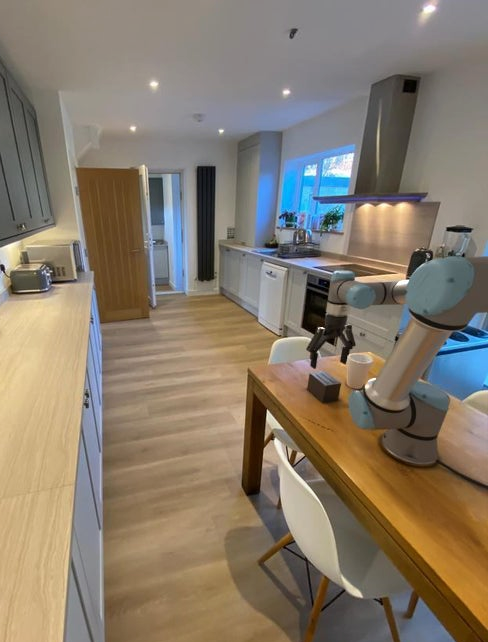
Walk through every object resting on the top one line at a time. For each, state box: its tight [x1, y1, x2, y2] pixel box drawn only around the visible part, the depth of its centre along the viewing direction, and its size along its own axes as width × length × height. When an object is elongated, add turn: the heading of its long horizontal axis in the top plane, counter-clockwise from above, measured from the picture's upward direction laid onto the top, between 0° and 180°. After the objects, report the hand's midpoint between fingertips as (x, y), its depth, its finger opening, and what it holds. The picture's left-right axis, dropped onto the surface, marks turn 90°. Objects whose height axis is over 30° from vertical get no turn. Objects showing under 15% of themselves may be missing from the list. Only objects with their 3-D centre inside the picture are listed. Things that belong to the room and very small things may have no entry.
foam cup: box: [346, 353, 374, 390], centre depth 138 cm, size 10×9×13 cm
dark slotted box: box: [306, 370, 342, 404], centre depth 133 cm, size 12×7×8 cm, turn 14°
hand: (328, 365), depth 128 cm, fingers open, 13 cm apart
